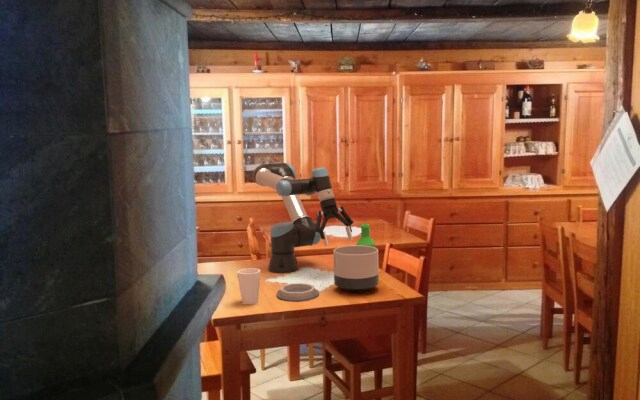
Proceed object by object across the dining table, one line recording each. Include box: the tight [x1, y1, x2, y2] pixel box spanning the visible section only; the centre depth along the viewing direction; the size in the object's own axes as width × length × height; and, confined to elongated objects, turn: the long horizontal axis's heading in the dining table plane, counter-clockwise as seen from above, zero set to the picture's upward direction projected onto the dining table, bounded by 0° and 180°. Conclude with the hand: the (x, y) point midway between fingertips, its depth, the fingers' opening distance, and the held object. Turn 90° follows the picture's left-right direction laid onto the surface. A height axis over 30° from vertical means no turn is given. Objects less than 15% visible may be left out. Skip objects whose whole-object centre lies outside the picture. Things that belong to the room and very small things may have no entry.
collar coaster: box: [276, 282, 320, 302], centre depth 228 cm, size 18×18×3 cm
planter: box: [332, 244, 380, 293], centre depth 233 cm, size 19×19×18 cm
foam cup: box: [236, 267, 262, 305], centre depth 219 cm, size 10×9×13 cm
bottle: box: [355, 223, 376, 248], centre depth 254 cm, size 9×9×25 cm
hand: (339, 242), depth 253 cm, fingers open, 13 cm apart
